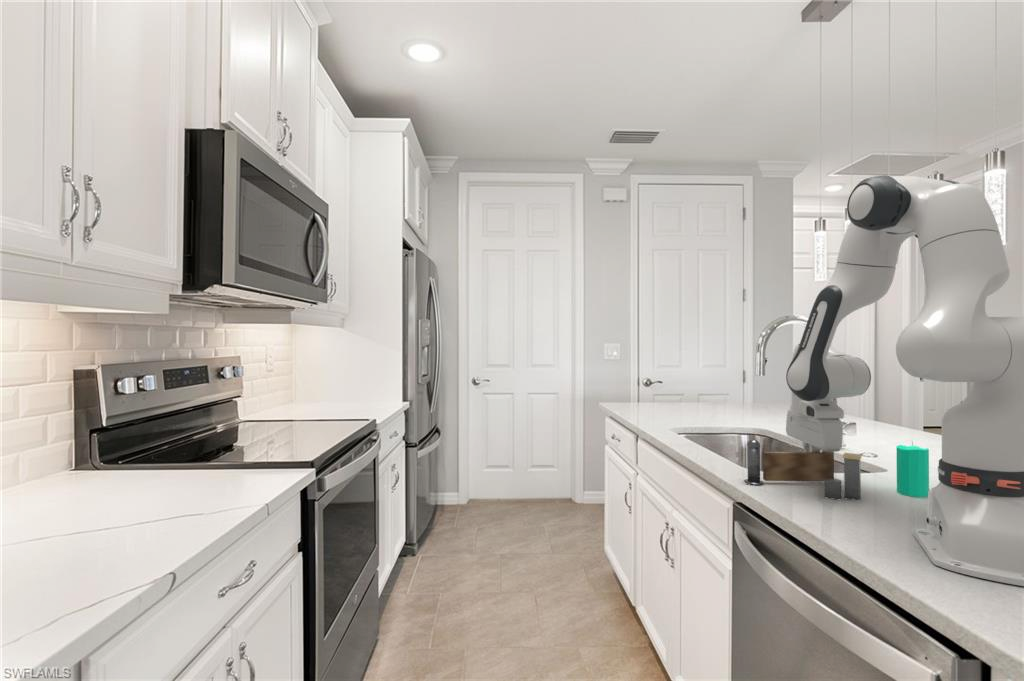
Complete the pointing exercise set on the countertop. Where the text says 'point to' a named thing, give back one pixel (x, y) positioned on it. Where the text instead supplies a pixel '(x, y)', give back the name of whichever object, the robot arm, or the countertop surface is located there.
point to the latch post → (846, 479)
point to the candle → (912, 471)
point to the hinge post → (753, 463)
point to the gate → (798, 466)
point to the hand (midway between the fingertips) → (811, 461)
